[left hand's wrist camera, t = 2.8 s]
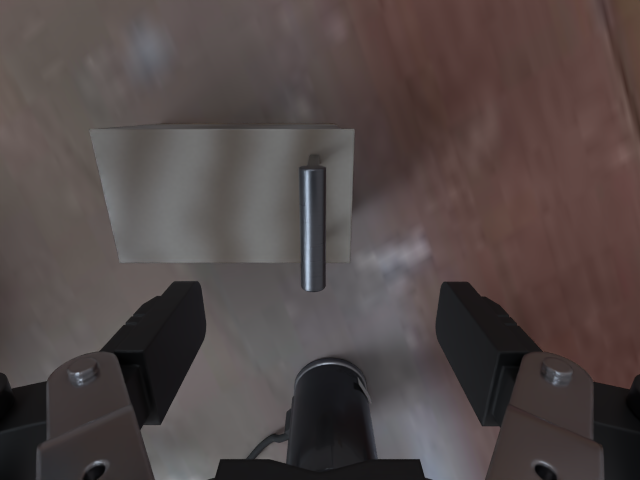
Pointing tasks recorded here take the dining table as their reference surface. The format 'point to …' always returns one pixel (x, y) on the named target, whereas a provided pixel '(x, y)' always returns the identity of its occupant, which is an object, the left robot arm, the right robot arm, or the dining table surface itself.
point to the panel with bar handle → (230, 196)
